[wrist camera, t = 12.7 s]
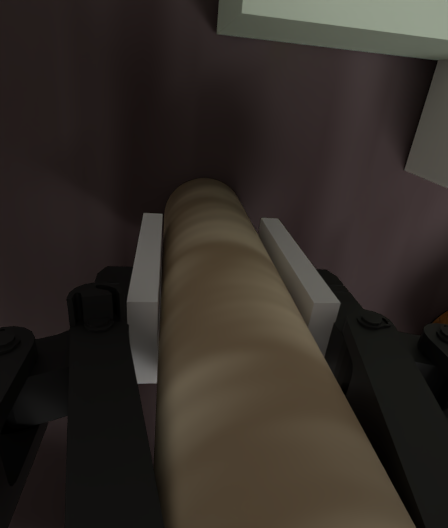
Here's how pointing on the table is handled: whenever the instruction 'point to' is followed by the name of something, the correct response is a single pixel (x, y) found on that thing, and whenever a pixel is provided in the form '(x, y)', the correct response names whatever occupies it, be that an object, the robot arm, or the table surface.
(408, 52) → the sage green block
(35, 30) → the table surface
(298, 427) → the birch dowel
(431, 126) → the pale wall board
